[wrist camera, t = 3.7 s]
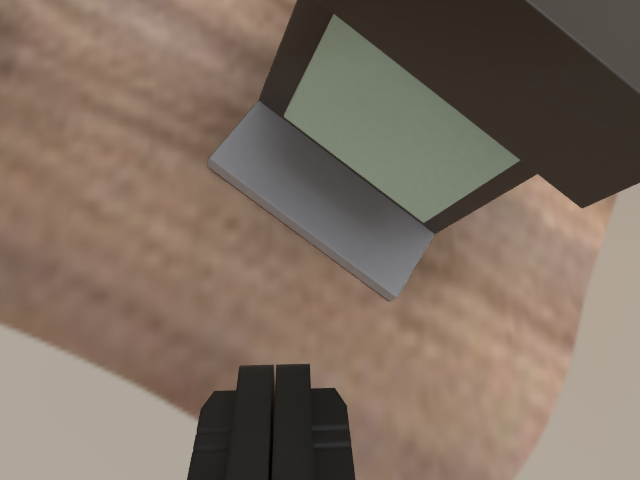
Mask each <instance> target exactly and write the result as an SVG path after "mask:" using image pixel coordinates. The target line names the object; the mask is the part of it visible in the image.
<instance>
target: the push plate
mask: <svg viewBox="0 0 640 480" xmlns="http://www.w3.org/2000/svg"><path fill="white" fill-rule="evenodd" d="M284 117H285V118H286V119H287V120H289V121H290V122H291V123H293V124H294V125H295V126H297V127H298V128H299V129H300V130H302V131H303V132H304V133H306V134H307V135H308V136H310V137H311V138H312V139H314V140H315V141H316V142H318V143H319V144H320V145H322V146H323V147H324V148H325V149H327V150H328V151H329V152H331V153H332V154H333V155H335V156H336V157H337V158H339V159H340V160H341V161H343V162H344V163H345V164H347V165H348V166H349V167H351V168H352V169H353V170H354V171H356V172H357V173H358V174H360V175H361V176H362V177H364V178H365V179H366V180H368V181H369V182H370V183H372V184H373V185H374V186H376V187H377V188H378V189H379V190H381V191H382V192H383V193H385V194H386V195H387V196H389V197H390V198H391V199H393V200H394V201H395V202H397V203H398V204H399V205H401V206H402V207H403V208H404V209H406V210H407V211H408V212H410V213H411V214H412V215H414V216H415V217H416V218H418V219H419V220H420V221H422V222H423V223H424V222H426V221H428V220H429V219H431V218H432V217H434V216H435V215H437V214H438V213H440V212H441V211H443V210H444V209H446V208H448V207H449V206H451V205H452V204H454V203H455V202H457V201H458V200H460V199H461V198H463V197H465V196H466V195H468V194H469V193H471V192H472V191H474V190H475V189H477V188H478V187H480V186H482V185H483V184H485V183H486V182H488V181H489V180H491V179H492V178H494V177H495V176H497V175H498V174H500V173H502V172H503V171H505V170H506V169H508V168H509V167H511V166H512V165H514V164H515V163H517V162H519V161H520V160H519V159H518V158H517V157H516V156H514V155H513V154H512V153H510V152H509V151H508V150H507V149H505V148H504V147H503V146H502V145H500V144H499V143H498V142H496V141H495V140H494V139H493V138H491V137H490V136H489V135H488V134H486V133H485V132H484V131H482V130H481V129H480V128H479V127H477V126H476V125H475V124H473V123H472V122H471V121H470V120H468V119H467V118H466V117H465V116H463V115H462V114H461V113H459V112H458V111H457V110H456V109H454V108H453V107H452V106H451V105H449V104H448V103H447V102H445V101H444V100H443V99H442V98H440V97H439V96H438V95H437V94H435V93H434V92H433V91H431V90H430V89H429V88H428V87H426V86H425V85H424V84H422V83H421V82H420V81H419V80H417V79H416V78H415V77H414V76H412V75H411V74H410V73H408V72H407V71H406V70H405V69H403V68H402V67H401V66H400V65H398V64H397V63H396V62H394V61H393V60H392V59H391V58H389V57H388V56H387V55H386V54H384V53H383V52H382V51H380V50H379V49H378V48H377V47H375V46H374V45H373V44H371V43H370V42H369V41H368V40H366V39H365V38H364V37H363V36H361V35H360V34H359V33H357V32H356V31H355V30H354V29H352V28H351V27H350V26H349V25H347V24H346V23H345V22H343V21H342V20H341V19H340V18H338V17H337V16H336V15H335V14H333V16H332V18H331V20H330V22H329V25H328V27H327V29H326V31H325V33H324V35H323V37H322V39H321V41H320V43H319V45H318V47H317V49H316V51H315V53H314V55H313V57H312V59H311V61H310V63H309V65H308V67H307V69H306V71H305V73H304V75H303V77H302V79H301V81H300V83H299V85H298V87H297V89H296V91H295V93H294V95H293V97H292V99H291V101H290V104H289V106H288V108H287V110H286V112H285V114H284Z"/></svg>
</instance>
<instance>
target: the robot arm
mask: <svg viewBox="0 0 640 480" xmlns="http://www.w3.org/2000/svg"><path fill="white" fill-rule="evenodd" d="M187 480H355V472H354V464H353V455H352V448H351V438H350V430H349V422H348V413H347V405H346V404H345V403H344V401H343V400H342V398H341V397H340V395H339V394H338V392H337V391H336V389H335V388H315V389H311V383H310V364H284V365H276V384H275V381H274V365H243V366H240V367H239V373H238V381H237V389H236V390H235V391H214V392H213V394H212V395H211V396H210V398H209V399H208V400H207V402H206V403H205V404H204V406H203V407H202V408H201V411H200V416H199V421H198V426H197V435H196V437H195V442H194V447H193V453H192V457H191V462H190V468H189V473H188V478H187Z"/></svg>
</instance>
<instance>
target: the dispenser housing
mask: <svg viewBox="0 0 640 480" xmlns="http://www.w3.org/2000/svg"><path fill="white" fill-rule="evenodd" d="M333 14H335V15H336V16H337V17H338V18H340V19H341V20H342V21H343V22H345V23H346V24H347V25H349V26H350V27H351V28H352V29H354V30H355V31H356V32H357V33H359V34H360V35H361V36H363V37H364V38H365V39H366V40H368V41H369V42H370V43H371V44H373V45H374V46H375V47H377V48H378V49H379V50H380V51H382V52H383V53H384V54H386V55H387V56H388V57H389V58H391V59H392V60H393V61H394V62H396V63H397V64H398V65H400V66H401V67H402V68H403V69H405V70H406V71H407V72H408V73H410V74H411V75H412V76H414V77H415V78H416V79H417V80H419V81H420V82H421V83H422V84H424V85H425V86H426V87H428V88H429V89H430V90H431V91H433V92H434V93H435V94H437V95H438V96H439V97H440V98H442V99H443V100H444V101H445V102H447V103H448V104H449V105H451V106H452V107H453V108H454V109H456V110H457V111H458V112H459V113H461V114H462V115H463V116H465V117H466V118H467V119H468V120H470V121H471V122H472V123H473V124H475V125H476V126H477V127H479V128H480V129H481V130H482V131H484V132H485V133H486V134H488V135H489V136H490V137H491V138H493V139H494V140H495V141H496V142H498V143H499V144H500V145H502V146H503V147H504V148H505V149H507V150H508V151H509V152H510V153H512V154H513V155H514V156H516V157H517V158H518V159H519V160H520V161H519V162H517V163H515V164H514V165H512V166H511V167H509V168H508V169H506V170H505V171H503V172H502V173H500V174H498V175H497V176H495V177H494V178H492V179H491V180H489V181H488V182H486V183H485V184H483V185H482V186H480V187H478V188H477V189H475V190H474V191H472V192H471V193H469V194H468V195H466V196H465V197H463V198H461V199H460V200H458V201H457V202H455V203H454V204H452V205H451V206H449V207H448V208H446V209H444V210H443V211H441V212H440V213H438V214H437V215H435V216H434V217H432V218H431V219H429V220H428V221H426V222H424V223H423V222H422V221H420V220H419V219H418V218H416V217H415V216H414V215H412V214H411V213H410V212H408V211H407V210H406V209H404V208H403V207H402V206H401V205H399V204H398V203H397V202H395V201H394V200H393V199H391V198H390V197H389V196H387V195H386V194H385V193H383V192H382V191H381V190H379V189H378V188H377V187H376V186H374V185H373V184H372V183H370V182H369V181H368V180H366V179H365V178H364V177H362V176H361V175H360V174H358V173H357V172H356V171H354V170H353V169H352V168H351V167H349V166H348V165H347V164H345V163H344V162H343V161H341V160H340V159H339V158H337V157H336V156H335V155H333V154H332V153H331V152H329V151H328V150H327V149H325V148H324V147H323V146H322V145H320V144H319V143H318V142H316V141H315V140H314V139H312V138H311V137H310V136H308V135H307V134H306V133H304V132H303V131H302V130H300V129H299V128H298V127H297V126H295V125H294V124H293V123H291V122H290V121H289V120H287V119H286V118H285V117H284V114H285V112H286V110H287V108H288V106H289V104H290V101H291V99H292V97H293V95H294V93H295V91H296V89H297V87H298V85H299V83H300V81H301V79H302V77H303V75H304V73H305V71H306V69H307V67H308V65H309V63H310V61H311V59H312V57H313V55H314V53H315V51H316V49H317V47H318V45H319V43H320V41H321V39H322V37H323V35H324V33H325V31H326V29H327V27H328V25H329V22H330V20H331V18H332V16H333ZM207 166H208V167H209V168H210V169H211V170H213V171H214V172H216V173H217V174H218V175H220V176H221V177H222V178H224V179H225V180H226V181H228V182H229V183H230V184H232V185H233V186H234V187H236V188H237V189H238V190H240V191H241V192H243V193H244V194H245V195H247V196H248V197H249V198H251V199H252V200H253V201H255V202H256V203H257V204H259V205H260V206H261V207H263V208H264V209H265V210H267V211H268V212H269V213H271V214H272V215H274V216H275V217H276V218H278V219H279V220H280V221H282V222H283V223H284V224H286V225H287V226H288V227H290V228H291V229H292V230H294V231H295V232H296V233H298V234H299V235H301V236H302V237H303V238H305V239H306V240H307V241H309V242H310V243H311V244H313V245H314V246H315V247H317V248H318V249H319V250H321V251H322V252H323V253H325V254H326V255H328V256H329V257H330V258H332V259H333V260H334V261H336V262H337V263H338V264H340V265H341V266H342V267H344V268H345V269H346V270H348V271H349V272H350V273H352V274H353V275H355V276H356V277H357V278H359V279H360V280H361V281H363V282H364V283H365V284H367V285H368V286H369V287H371V288H372V289H373V290H375V291H376V292H377V293H379V294H380V295H382V296H383V297H384V298H386V299H387V300H388V301H390V300H393V299H395V298H397V297H398V296H399V294H400V292H401V290H402V289H403V287H404V285H405V284H406V282H407V280H408V279H409V277H410V275H411V274H412V272H413V270H414V268H415V267H416V265H417V263H418V262H419V260H420V258H421V257H422V255H423V253H424V252H425V250H426V248H427V246H428V245H429V243H430V241H431V240H432V238H433V236H434V235H435V234H436V233H438V232H439V231H441V230H443V229H444V228H446V227H448V226H449V225H451V224H453V223H455V222H456V221H458V220H460V219H461V218H463V217H465V216H467V215H468V214H470V213H472V212H473V211H475V210H477V209H478V208H480V207H482V206H484V205H485V204H487V203H489V202H490V201H492V200H494V199H496V198H497V197H499V196H501V195H502V194H504V193H506V192H507V191H509V190H511V189H513V188H514V187H516V186H518V185H519V184H521V183H523V182H525V181H526V180H528V179H530V178H531V177H533V176H535V175H536V174H539V175H540V176H541V177H542V178H544V179H545V180H546V181H547V182H549V183H550V184H551V185H553V186H554V187H555V188H556V189H558V190H559V191H560V192H561V193H563V194H564V195H565V196H567V197H568V198H569V199H570V200H572V201H573V202H574V203H575V204H577V205H578V206H579V207H581V208H584V207H587V206H589V205H591V204H593V203H595V202H598V201H600V200H602V199H604V198H607V197H609V196H611V195H613V194H616V193H618V192H620V191H622V190H624V189H626V188H629V187H631V186H633V185H636V184H638V183H640V0H297V2H296V5H295V7H294V10H293V13H292V15H291V18H290V20H289V23H288V25H287V28H286V31H285V33H284V36H283V38H282V41H281V44H280V46H279V49H278V51H277V54H276V56H275V59H274V62H273V64H272V67H271V69H270V72H269V74H268V77H267V80H266V82H265V85H264V87H263V90H262V93H261V95H260V98H259V100H258V101H257V103H256V104H255V105H254V106H253V107H252V108H251V110H250V111H249V112H248V113H247V114H246V115H245V117H244V118H243V119H242V120H241V121H240V122H239V124H238V125H237V126H236V127H235V128H234V129H233V131H232V132H231V133H230V134H229V135H228V136H227V138H226V139H225V140H224V141H223V142H222V143H221V145H220V146H219V147H218V148H217V149H216V150H215V152H214V153H213V154H212V155H211V156H210V157H209V161H208V165H207Z"/></svg>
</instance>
